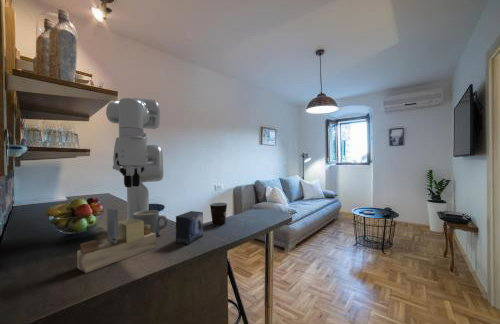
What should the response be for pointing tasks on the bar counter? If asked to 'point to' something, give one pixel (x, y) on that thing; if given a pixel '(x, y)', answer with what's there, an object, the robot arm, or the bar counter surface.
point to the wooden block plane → (112, 251)
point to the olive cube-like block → (130, 230)
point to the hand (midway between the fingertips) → (132, 186)
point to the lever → (112, 225)
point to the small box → (189, 227)
